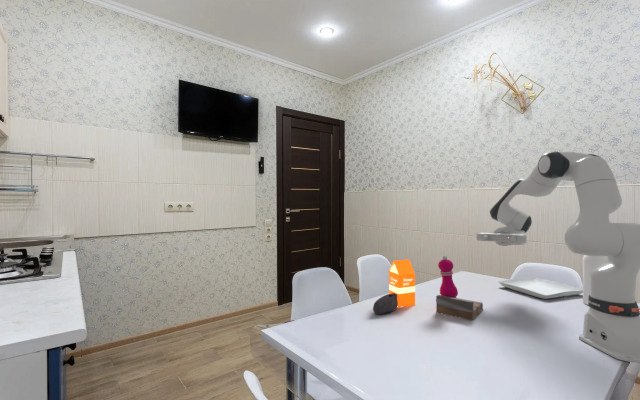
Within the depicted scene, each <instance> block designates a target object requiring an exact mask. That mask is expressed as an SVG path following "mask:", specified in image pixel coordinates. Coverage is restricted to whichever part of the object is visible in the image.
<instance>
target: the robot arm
mask: <svg viewBox="0 0 640 400" xmlns="http://www.w3.org/2000/svg"><path fill="white" fill-rule="evenodd" d="M562 181H570V182H573V183H574V187H575V191H576V194H577V199H578V204H579V213H578V217H577V219H576V221H575V222H574V223H572V224H571V225H570V226H569V227H568V228H567V230H566V231H565V234H564V243H565V245H566V247H567V249H568V250H570V251H571V252H572V253H574V254H576V255H578V254H579V255H582V256H584V255H587V256H603V257H606V260H605V263H604V264H603V265H602V266H600V267H598V268H596V269H594V270H593V271H592V272H591V274H590V295H589V297H588V305H587V306H588V307H589V308H588V310H587V311H586V312H585V313H584V317H583V330H582V334H579V335H578V339H579V340H581V341H582V342H584V343H586V344H588V345H589V346H591V347H593V348H595V349H597V350H599V351H601V352H603V353H605V354H607V355H609V356H610V357H611V358H612V357H613V358H614V359H616V360H620V361H624V362H630V363H635V364H640V307H639V305H638V302H637V301H636V281H637V277H638V274H639V271H640V223H636V222H635V223H633V222H620V223H619V222H611V221H610V219H609V217H610V214H612V213H614V212H616V211H618V210H619V209H620V207H621V206H622V203H623V199H622V196H621V193H620V190H619V186H618V184H617V180H616V178H615V175H614V173H613V171H612V169H611V167H610V166H609V164H608V162H607V161H606V159H604V158H603V157H601V156H600V155H596V154H593V153H582V152H576V151H557V150H556V151H548V152H546V153H545V152H544V154H542V155H541V157H540V158H539V159H538V162H537V164H536V165H535V166H534V167H533V169H532V170H531V172H530V174H529V175H528V176H527V177H525V178H519V179H518V180H516V181H515V183H513V184H512V185H511V186H510V188H508V190H506V192H505V193H504V194H503V195H502V196H501V198H500V199H499V200H498V201H497V202H496V203H494V204H493V205H492V206H491V208H490V210H489V215H490V217H491V219H492V220H494V221H497V222H499V223H500V224H503V225H504V226H502V227H498V228H496V229H495V230H494V231H493V232H488V231H487V232H486V231H485V232H476V241H480V242H481V241H482V242H494V243H496V244H497V245H499V246H500V247H507V246H512V245H513V246H517V245H518V246H523V245H525V244H527V243H528V242H527V232H528V231H529V229H530V227H531V226H532V217H531V215H529V214H528V213H525V212H524V211H522V210H520V209H518V208H516V207H514V206H512V205H511V204H510V202H511V201H512V200H513V199H514V198H515V197H516V196H517V195H522V196H523V195H524V196H530V197H533V198H534V197H535V198H538V197H539V198H541V197H546V196H548V195H550V194H552V193H553V192H554V190H556V188H557V187H558V185H559V184H560V182H562Z"/></svg>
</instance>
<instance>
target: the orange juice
mask: <svg viewBox="0 0 640 400" xmlns="http://www.w3.org/2000/svg"><path fill="white" fill-rule="evenodd" d="M415 277H416V273H415V270H414V268H413V266H412V262H411V261H410V259H402V260H401V259H399V260H397V259H396V260H393V262H392V264H391V266H390V268H389V271H388V292H389V293H388V294H391V293H395V294H397V301H398V307H397V308H399V307H400V308H402V307H401V306H407V307H411V306H410V305H413V306H416V278H415Z"/></svg>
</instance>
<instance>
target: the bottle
mask: <svg viewBox="0 0 640 400" xmlns="http://www.w3.org/2000/svg"><path fill="white" fill-rule="evenodd" d="M582 257H583V258H582V289H583V293H582V301H583V302H582V303H583V304H584V305H587V306H589V305H588V297H589V295H590V274H591V272H592V271H593V270H594V269H596V268H598V267H600V266H602V265H603V264H604V263H605V261H606V260H605V258H604V256H587V255H583V256H582Z"/></svg>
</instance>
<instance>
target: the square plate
mask: <svg viewBox="0 0 640 400" xmlns="http://www.w3.org/2000/svg"><path fill="white" fill-rule="evenodd" d="M498 283H499V285H501V286H502V287H503V288H507V289H510V290H513V291H515V292H519V293H522V294H525V295H529V296H533V297H535V298H536V297H537V298H540V299H543V300H544V299H545V300H547V299H554V298H556V299H557V298H562V297H563V296H564V297H570V296H576V295H580V294H583V288H579V287H576V286H572V285H569V284H566V283H565V284H564V283H563V282H559V281H558V282H557V281H552V280H548V279H543V278H538V277H523V278H514V279H512V278H511V279H506V280H505V279H504V280H500V281H498Z"/></svg>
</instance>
